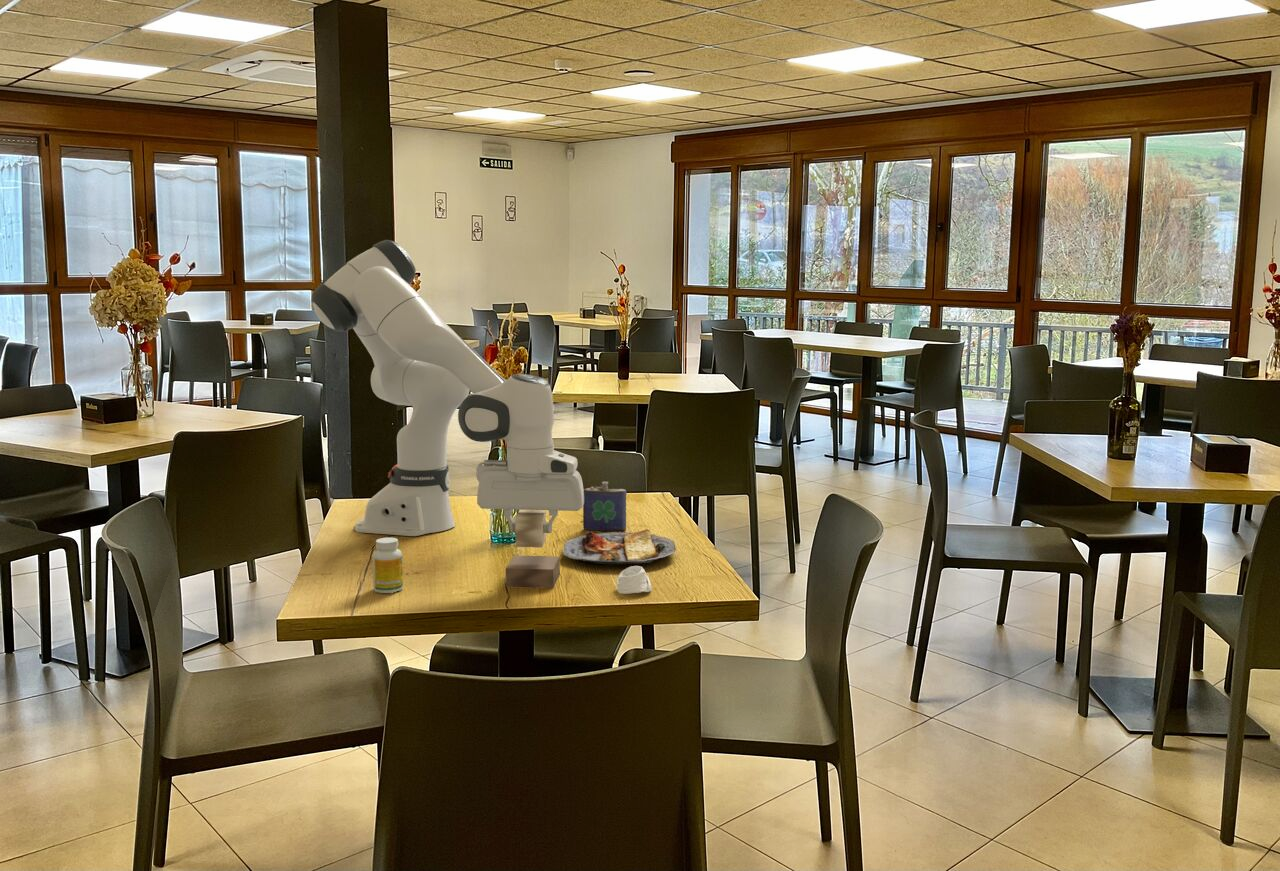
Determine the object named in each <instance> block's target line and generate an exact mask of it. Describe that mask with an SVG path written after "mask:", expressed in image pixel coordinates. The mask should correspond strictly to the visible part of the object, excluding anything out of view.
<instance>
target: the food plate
mask: <svg viewBox="0 0 1280 871" xmlns="http://www.w3.org/2000/svg"><path fill="white" fill-rule="evenodd" d="M675 553H676V545H675V541H674V540H672V539H670V538H667V537H664V536H659V535H655V534H652V533H651V531H650V529H643V530H639V531H636V532H626V531H624V532H622V531H621V532H597V533H595V532H592V531H591V532H588V533H586V534H583V535H580V536H577V537H574V538H571V539H570V540H567V541H565V542H564V546H563V551H562V555H563V556H565V557H568V558H570V559H573V560H580V561H583V562H590V563H592V564H593V563H595V564H601V565H622V566H623V565H630V564H646V563H647V564H650V563H652V562H653V561H655V560H658V559H660V558H661V559H662V558H665V557H667V556H670V555H673V554H675Z"/></svg>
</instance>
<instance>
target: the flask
mask: <svg viewBox="0 0 1280 871" xmlns="http://www.w3.org/2000/svg"><path fill="white" fill-rule="evenodd" d="M608 485H609V481H602V482H601V485H600V486H590V487H588V488H583V489H584V505H583V507H582V509H583V510H582V512H583V513H582V514H583V515H582V518H583V519H582V528H583V531H584V532H588V533H589V532H591V531H592V532H593V533H606V532H607V533H608V532H626V530H627V490H626V489H624V488H609V486H608Z"/></svg>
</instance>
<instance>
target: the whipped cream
mask: <svg viewBox="0 0 1280 871" xmlns="http://www.w3.org/2000/svg"><path fill="white" fill-rule="evenodd" d="M616 588H617V589H616V590H617V593H619V594H623V595H629V594H639V593H643V592H644V593H649V592H651V591H652V584H651V581H650V577H649V576H648V575H647V572H646V571H645V569H644V568H643V566H639V565H633V566H632V565H631V566H629V567H626V568H625V569H623V570H621V572H619V574H618V576H617V578H616Z"/></svg>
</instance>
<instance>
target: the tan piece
mask: <svg viewBox="0 0 1280 871" xmlns="http://www.w3.org/2000/svg"><path fill="white" fill-rule="evenodd" d="M514 517H515V520H514V521H515V528H516V532H515V547H516V548H543V546H544V545H545V544H546V542H547V533H543V530H544V528H543V524H544V522H547V510H519V511H518V512H517V513H516V515H515V516H514Z"/></svg>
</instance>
